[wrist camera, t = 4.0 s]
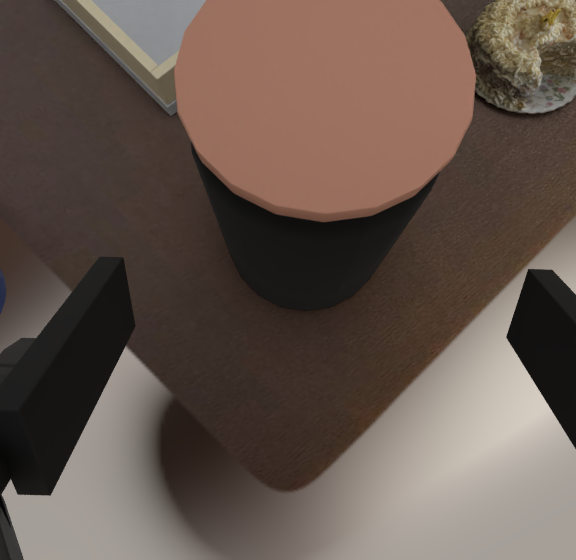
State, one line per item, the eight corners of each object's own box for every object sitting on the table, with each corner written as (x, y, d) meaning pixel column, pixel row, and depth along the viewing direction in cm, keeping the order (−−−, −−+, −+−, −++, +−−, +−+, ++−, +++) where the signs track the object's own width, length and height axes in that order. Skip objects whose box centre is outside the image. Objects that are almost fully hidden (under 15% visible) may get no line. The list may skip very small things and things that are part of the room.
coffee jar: (350, 157, 35) (413, -78, 18) (400, 288, 33) (528, 164, 16) (213, 195, 35) (141, -12, 17) (253, 333, 32) (216, 254, 15)
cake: (429, 66, 38) (448, 8, 33) (509, -1, 40) (538, -65, 35) (528, 141, 36) (565, 91, 30) (609, 66, 37) (656, 7, 32)
